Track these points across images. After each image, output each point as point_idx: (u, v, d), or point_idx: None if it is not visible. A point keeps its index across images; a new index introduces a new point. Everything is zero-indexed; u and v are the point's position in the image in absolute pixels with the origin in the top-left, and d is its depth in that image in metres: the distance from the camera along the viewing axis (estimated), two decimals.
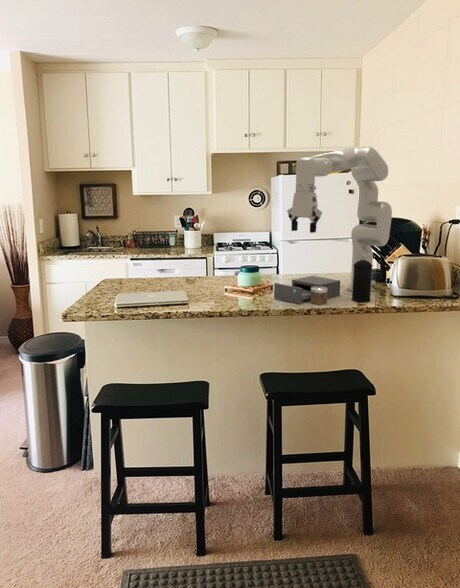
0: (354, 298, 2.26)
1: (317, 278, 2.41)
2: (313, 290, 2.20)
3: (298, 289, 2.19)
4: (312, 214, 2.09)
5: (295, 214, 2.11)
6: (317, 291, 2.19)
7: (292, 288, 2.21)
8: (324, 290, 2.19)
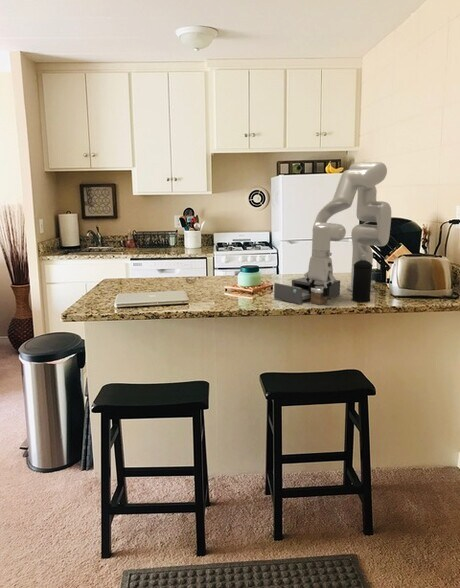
0: (354, 298, 2.26)
1: None
2: (313, 290, 2.20)
3: (298, 289, 2.19)
4: (327, 278, 2.19)
5: (311, 277, 2.21)
6: (317, 291, 2.19)
7: (292, 288, 2.21)
8: None
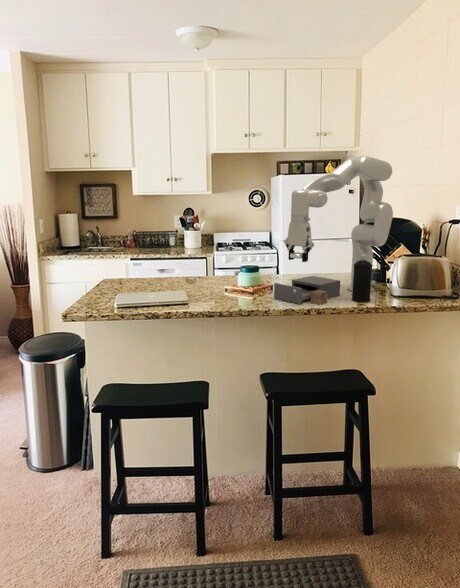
0: (354, 298, 2.26)
1: (317, 278, 2.41)
2: (292, 255, 2.23)
3: (298, 289, 2.19)
4: (305, 243, 2.22)
5: (290, 243, 2.24)
6: (296, 256, 2.22)
7: (292, 288, 2.21)
8: None
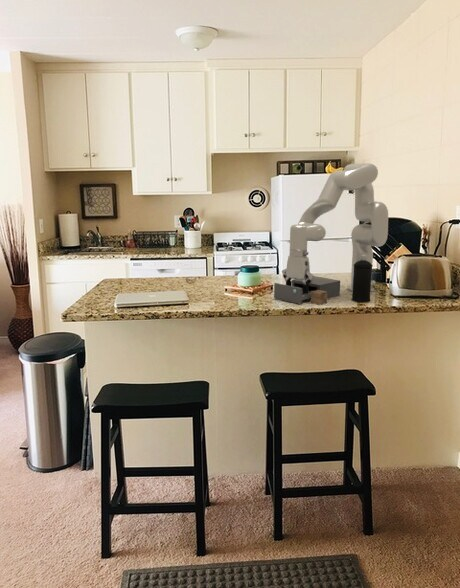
0: (354, 298, 2.26)
1: (317, 278, 2.41)
2: None
3: (298, 289, 2.19)
4: (305, 276, 2.25)
5: (289, 275, 2.28)
6: None
7: (292, 288, 2.21)
8: None
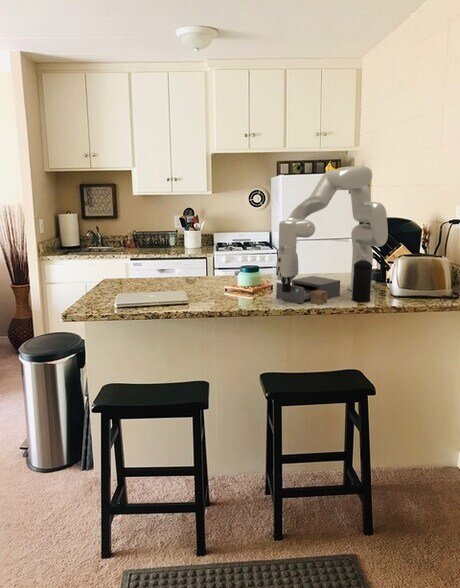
0: (354, 298, 2.26)
1: (317, 278, 2.41)
2: None
3: (300, 289, 2.20)
4: None
5: None
6: None
7: (294, 288, 2.22)
8: None
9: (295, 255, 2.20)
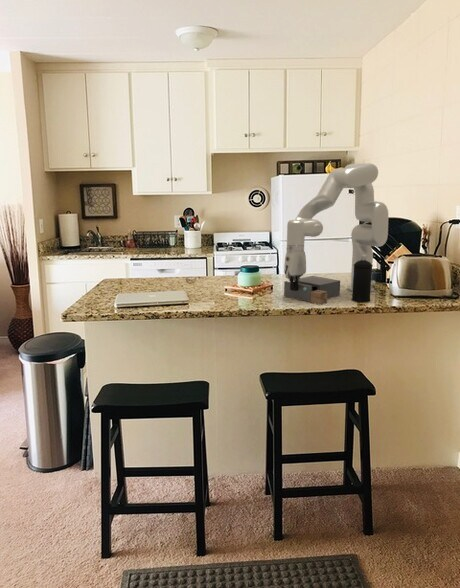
0: (354, 298, 2.26)
1: (317, 278, 2.41)
2: None
3: (308, 287, 2.23)
4: None
5: None
6: None
7: (302, 286, 2.26)
8: None
9: (303, 254, 2.23)
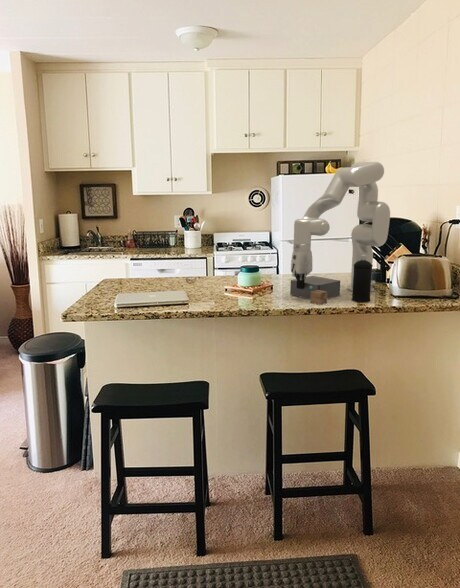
0: (354, 298, 2.26)
1: (317, 278, 2.41)
2: None
3: (314, 285, 2.26)
4: None
5: None
6: None
7: (308, 285, 2.29)
8: None
9: (309, 252, 2.26)
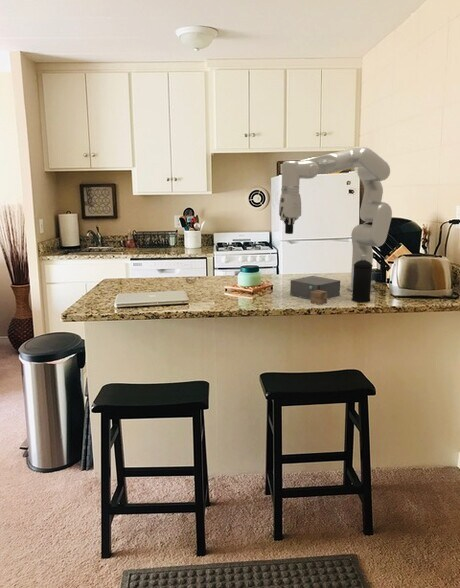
0: (354, 298, 2.26)
1: (317, 278, 2.41)
2: None
3: (314, 286, 2.26)
4: None
5: None
6: None
7: (308, 285, 2.29)
8: None
9: (298, 196, 2.21)
